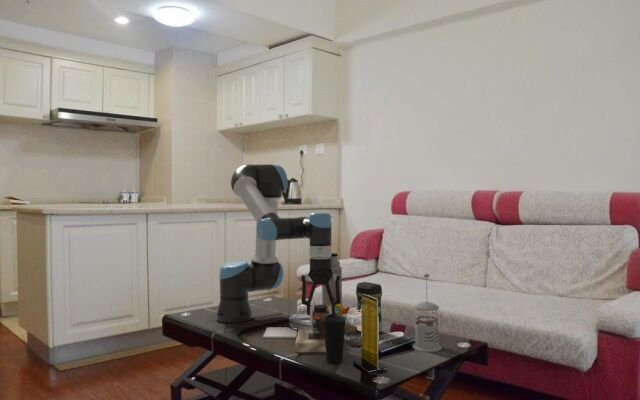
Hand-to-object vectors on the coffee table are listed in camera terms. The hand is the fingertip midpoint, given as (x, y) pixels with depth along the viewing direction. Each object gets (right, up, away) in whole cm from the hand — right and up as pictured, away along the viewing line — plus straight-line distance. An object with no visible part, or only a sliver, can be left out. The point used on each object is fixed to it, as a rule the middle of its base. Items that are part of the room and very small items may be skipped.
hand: (321, 324), depth 176 cm
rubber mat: (-15, -7, +15) cm, 22 cm away
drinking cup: (+4, -8, -17) cm, 19 cm away
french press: (+37, -7, -3) cm, 37 cm away
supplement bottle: (0, -5, 0) cm, 5 cm away
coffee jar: (+18, -7, +16) cm, 25 cm away
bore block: (0, -7, 0) cm, 7 cm away
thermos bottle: (+5, -7, +29) cm, 30 cm away
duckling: (+5, -7, +20) cm, 22 cm away
